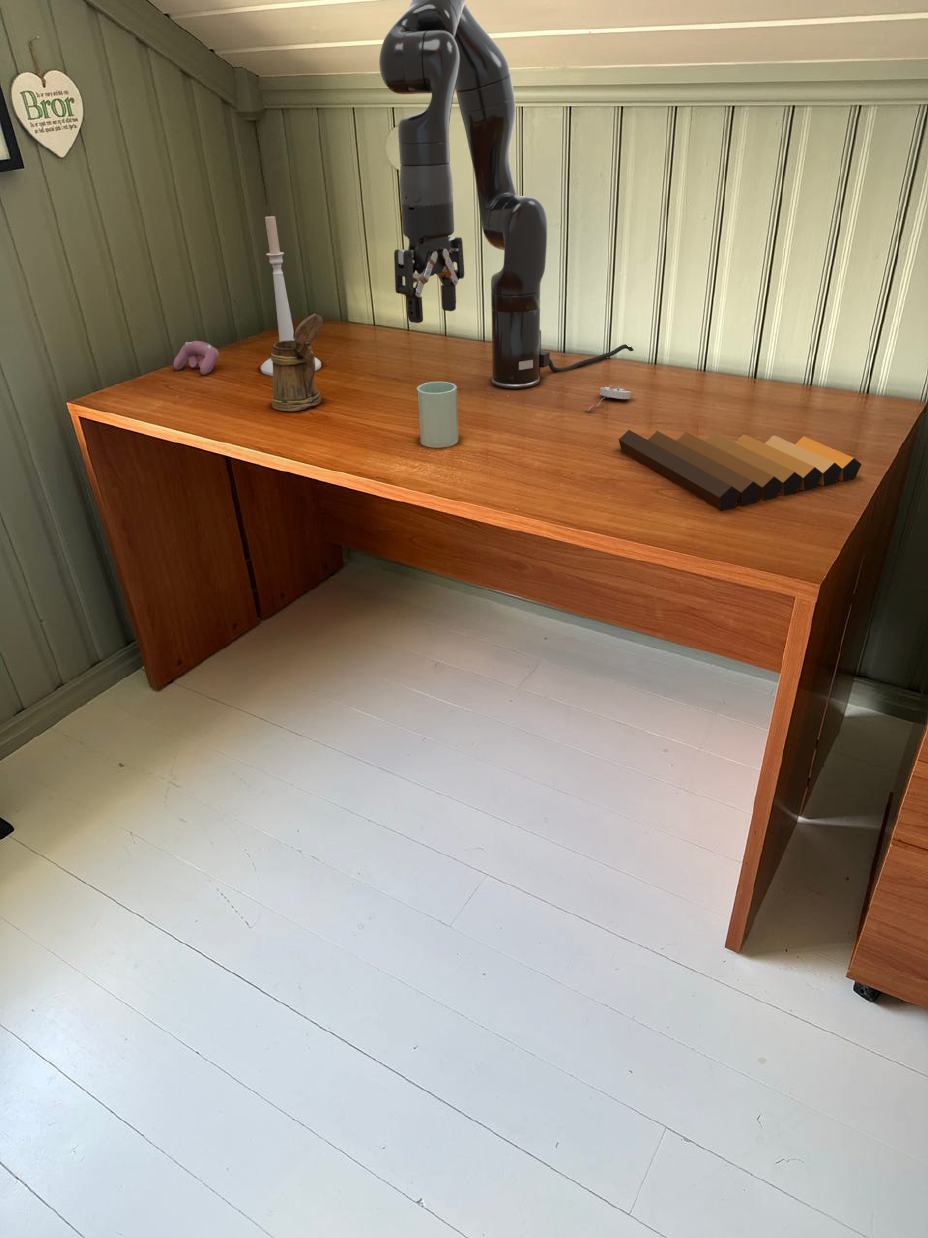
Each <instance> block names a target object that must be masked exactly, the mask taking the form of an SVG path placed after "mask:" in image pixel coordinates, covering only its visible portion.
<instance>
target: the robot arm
mask: <svg viewBox="0 0 928 1238" xmlns="http://www.w3.org/2000/svg"><path fill="white" fill-rule="evenodd" d="M466 2H467V0H411V1H410V4H409V7H408V10H406V11H405V12H404V13H403V14H402V15H401V16H400V17H399V19H398V20H397V21H396V22H395V23H394V24H393V26H391V28H390V29H389V30H388V31H387V33H386V35H385V38H384V39H383V41H382V44H381V48H380V53H379V72H380V76H381V79H382V81H383V83H384V85H385V86H386V87H387V88H388V90H389V91H391V92H393V93H394V94H397V95H421V94H423V95H425V94H426V95H427V94H431V97H430V101H429V104H428V105H427V107H426V108H425V110H423V111H420V112H417V113H413V114H410V115H407V116H404V117H402V118H401V119H400V121H399V122H398V128H397V132H398V133H397V134H398V135H397V137H398V150H399V162H400V166H399V167H400V171H399V191H400V193H399V194H400V208H401V222H402V234H403V235H404V236H405V237H406V238H407V239H408V247H407V249H399V248H397V249H395V250H394V252H393V259H394V260H393V261H394V287H395V289H394V290H395V293H396V294H400V295H403V296H405V298H406V308H407V309H406V311H407V317H408V321H409V322H410V323H414V324H420V323H423V321H424V311H423V309H424V308H423V296H422V292H423V289H424V287H425V284H427V283H429V280H430V278H431V277H433V276H434V275H436V276H437V277H438V279H439V281H440V283H441V285H440V291H441V294H440V295H441V309H442V310H443V311H446V312H454V311H455V310H456V309H457V288H456V287H457V285H458V283H459V280H460V279H461V280H463V279H464V278H465V260H464V246H463V238H462V237H459V236H451V235H453V234H454V232H455V218H454V217H455V215H454V214H455V213H454V194H453V193H454V191H453V190H454V189H453V177H452V170H451V163H450V162H451V158H450V157H451V156H450V153H451V152H450V122H451V121H450V120H451V112H452V107H453V100H454V94H455V93H456V98H457V101H458V102H457V103H458V107H459V111H460V114H461V118H462V123H463V126H464V130H465V134H466V139H467V144H468V149H469V154H470V158H471V163H472V168H473V173H474V179H475V180H474V181H475V185H476V193H477V194H476V195H477V203H478V209H479V210H478V211H479V217H480V218H479V219H480V223H481V228H482V231H483V235H484V237H485V239H486V240H487V242H488V243H489V245H491V246H492V247H494V248H495V249H498V250H501V251H504V253H503V266H502V268H501V269H500V270H499V271H498V272H495V273H494V274H493V275H491V280H490V297H491V298H490V299H491V301H490V303H491V304H490V305H491V308H490V309H491V366H492V367H491V368H492V372H491V373H492V375H491V376H492V377H491V384H492V385H493V386H497V387H499V388H502V389H526V388H531V387H534V386H537V385H538V384H540V379H541V371H542V370H541V369H542V368H546V367H549V369H550V371H552V372H554V373H561V372H562V373H563V372H568V371H572V370H575V369H578V368H580V367H582V366H585V365H588V364H592V363H595V362H598V361H601V360H604V359H606V358H610V357H612V356H615V355H616V354H618V353H620V352H621V351H623V350H625V349H626V350H627V351H629V352H634V351H635V350H634V348H633V347H632V346H631V347H628V346H627V345H626V344H627V343H625V344H621V345H619V346H618V347H616V348H614V349H613V350H611V351H608V352H606V353H601V354H600V355H597V356H594V357H590V358H587V359H584V360H580V361H578V362H576V363H573V364H572V365H569V366H566V367H561V368H560V367H557V366H554V364H553V361H552V359H550V356H551V355H550V351H545V350H544V351H542V331H541V283H542V280H543V277H544V275H545V272H546V271H545V270H546V263H547V247H548V246H547V245H548V217H547V213H546V210H545V207H544V205H543V204H542V203H541V202H540V201H539V200H538V199H537V198H534V197H531V196H526V195H525V196H523V195H519V194H517V191H516V188H515V184H514V180H513V175H512V174H513V173H512V170H511V161H510V153H511V152H510V151H511V146H512V145H511V144H512V140H513V135H514V129H515V122H516V114H517V113H516V111H517V108H516V107H517V106H516V105H517V104H516V97H515V92H514V87H513V81H512V76H511V70H510V66H509V63H508V60H507V58H506V56H505V54H504V52H503V51H502V49H500V46H498V44H497V43H496V42H495V41H494V39H493V38H492V37H491V36H490V35H489V34H488V32H487V31H486V30H485V29H484V28H483V27H482V26H481V24H480V23H479V22H478V21H477V19H476V18H475V17H474V15H473V14H472V13H471V11H470V9H469V8H468V6H467V4H466ZM455 263H456V268H455V265H454V264H455ZM403 277H404V278H405V284H404V281H403V280H404V279H403ZM414 284H415V287H414Z"/></svg>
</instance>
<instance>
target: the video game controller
mask: <svg viewBox="0 0 928 1238" xmlns="http://www.w3.org/2000/svg"><path fill="white" fill-rule="evenodd" d="M219 356H220V354H219V350H218V349H217V348H216V347H214V346H213V345H211V344H210V343H208V342H206V341H201V340H193V341H186V342H185V343H184V344H183V345H182V347H181V348H180V350H179V352H178V354H177V355H176V356H175V358H174V360H173V363H172V365H173V369H174V370H175V371H179V370H180V371H181V370H182V369H183V368H184V367H185V366H187V364H188V365H189V367H190V368H193V369H199V372H200V374H201V375H203V376H206V375H208V374H210V373H211V372H212V370H213V369H214V367H215V366H216V364H217V363H216V362H217V361H218V359H219ZM200 357H202V358H201V359H200Z"/></svg>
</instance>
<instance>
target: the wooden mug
mask: <svg viewBox="0 0 928 1238" xmlns="http://www.w3.org/2000/svg"><path fill="white" fill-rule="evenodd" d="M323 324H324V321H323V316H322V315H321V314H320V313H319V312H316V311H312V312H311V313H310V314H308V315H307V316H305V317H304V318H302V319H301V320H300V321H299V322H298V324H297V325H296V327H295V329H293V330H294V334H293V338H294V340H288V341H281V342H280V341H278V342H276V341H275V342H273V344H272V352H271V354H270V358H271V361H272V362H273V376H272V398H271V407H272V408H273V410H277V411H281V412H301V411H305V410H306V411H307V410H310V409H313V408H315V407H318V406H319V405H320V404H321V401H322V398H321V393H320V392H319V390H318V388H317V387H318V386H317V384H316V380H315V372H316V371H315V358H316V357H315V353H314V351H313V348H312V346H311V345H312V343H313V341H314V340H315V339H316V337H318V335H319V334H320V332H321V330H322V327H323ZM314 357H315V358H314Z"/></svg>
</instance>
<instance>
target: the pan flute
mask: <svg viewBox="0 0 928 1238" xmlns="http://www.w3.org/2000/svg"><path fill="white" fill-rule="evenodd" d="M618 442H619V446H620V447H619V448H620V451H621V453H623V454H625V455H627V456H628V457H630V458H632V459H633V460H635V461H637V462H638V463H640V464H641V465H644V466H645V467H647V468H648V469H650V470H652V471H653V472H655V473H657V474H658V475H661V476H662V477H663V478H666V479H667V480H669V481H670V482H672V483H674V484H675V485H677V486H679V487H680V488H683V489H684V490H685V491H687V492H689V493H691V494H693V495H694V496H696V497H698V498H699V499H701V500H702V501H704V502H705V503H708V504H709V505H711V506H713V507H714V508H716V509H718V510H719V511H721V512H722V511H726V510H731V509H735V508H736V506H737V504H739V505H741V506H747V505H752V504H756V503H757V501H758V499H760V500H762V501H768V500H772V499H773V500H774V499H776V498H778V495H779V494H780V495H782V496H784V497H786V496H790V495H793V494H797V493H798V491H799V490H801V491H804V492H806V491H810V490H814V489H817V488H818V486H819V485H820V486H823V487H827V486H830V485H835V484H837V482H838V480H839V481H841V482H847V481H852V480H855V479H856V477H857V475H858V473H859V471H860V468H861V467H862V463H861V461H859V460H857V459H856V458H855V457H854V456H851V455H848V454H847V453H844V452H842V451H840V450H837V449H834V448H832V447H830V446H827V445H826V444H823V443H821V442H819V441H816V440H814V439H811V438H809V437H807V436H802V437H801V438H800V439H799V440H798V441H797V442H796V443H793V442H790V441H788V440H785V439H784V438H781V437H780V436H777V435H772V436H771V437H770V438H769V439H767V441H765V443H764V442H762V441H760V440H758V439H756V438H753V437H751V436H750V435H747V434H745V433H743V434H742V435H741V436H739V438H738V439H737V440H736V441H732V440H731V439H728V438H726V437H724V436H722V435H720V434H718V433H716V432H714V433H713V434H711V436H710V437H709V438H707V439H706V440H703V439H702V438H699V437H697V436H695V435H694V434H691V433H689V432H687V431H685V432H683V434H682V435H681V436H680V437H679V438H677V440H676V439H674V438H672V437H670V436H668V435H666V434H664V433H662V432H660V431H659V430H656V431H655V432H654V433H653V434H652V435H651V436H650V437H649V438H648V439H647V438H645V437H643V436H641V435H639V434H638V433H636V432H634V431H632V430H631V429H628V430H627V431H626V432H625V433H624V434H623V435H621V437H620V438H619V439H618Z"/></svg>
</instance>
